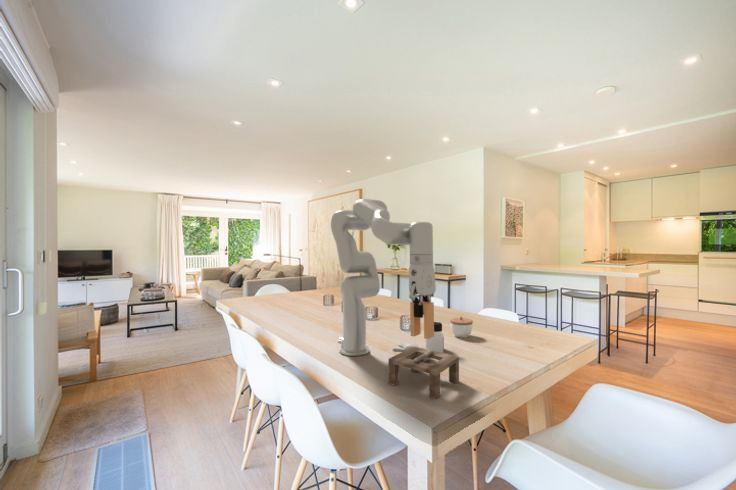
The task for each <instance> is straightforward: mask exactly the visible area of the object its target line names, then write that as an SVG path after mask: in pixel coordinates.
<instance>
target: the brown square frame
mask: <svg viewBox="0 0 736 490" xmlns="http://www.w3.org/2000/svg"><path fill="white" fill-rule="evenodd" d="M425 357H428V358H431V360H436V361H435V362H434V363H433V364H431V363H426V362H423V361H421V360H422V359H423V358H425ZM410 358H411V359H410ZM400 367H403V368H408V369H410V371H411V372H413V373H418V372H421V373H426V374H428V397H430V398H431V399H435V400H437V399H439V398H440V397H441V374H442V373H443V372H444V371H446V370H447V369H448V382H450V383H453V384H457V383H459V382H460V356H457V355H453V354H449V353H445V352H444V353H440V352H436V351H433V350H427V349H423V348H418V347H412V348H410V349H408V350H406V351H404V352H399V353H397V354H395V355H394V356H391V357H390V358H388V384H389V385H392V386H396V385H397V384H399V383H400Z"/></svg>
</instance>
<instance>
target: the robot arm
mask: <svg viewBox="0 0 736 490" xmlns="http://www.w3.org/2000/svg"><path fill="white" fill-rule="evenodd" d="M390 218H391V214H390V212H389V211H388V206H387V204H386V203H385V202H384V201H382V200H378V199H371V198H360V199H358V200H356V201H355V202H354V203H353V205H352V209H351V210H350V209H339V210H337V211H335V212H334V213H333V214H332V217H331V220H330V229H331V233H332V234H331V235H332V236H333V239H334V241H335V246H336V251H337V256H338V261H339V266H340V269H341V271H342V273H344V274H350V275H351V274H361V275H352V276H347V277H345V278H344V279H342V281H341V282H340V293H341V299H342V325H343V326H342V337H339V339H338V340H337V343H338V344H339V345H341V346H340V348H339V353H340V354H342V355H344V356H349V357H356V356H357V357H361V356H363V355H367V354H368V353H370V347H369V346H367V341H366V340H367V338H366V337H367V336H366V335H367V334H366V333H367V331H366V330H367V327H366V326H367V325H366V324H367V322H366V316H367V314H366V306H365V304H364V302H363V301H362V299H365V298H372V297H376V296H377V295H378V294H379V292H380V289H381V285H380V284H381V282H380V278H379V272H378V268H377V263H376V260H375V257H374V255H373V254H372V253H371V252H369V251H365V250H364V251H361V250H359V249H358V247H357V241H356V240H355V238H354V236H353V235H352V234H351V232H349V231H367V230H369V229H371V231H372V234H373V235H374V237H375V238H376V239H378V240H380V241H381V242H383V243H385V244H387V245H391V246H392V245H393V246H400V245H401V246H402V245H403V246H409V273H408V275H409V276H408V292H409V295H408V297H409V299H410V300H411V302H413V305H414V317H419V318H420V319H422V318H423V319H424V313H423V305H422V301H424V302H432V296H433V294H435V292H436V289H437V288H436V286H437V285H436V273H435V267H434V244H433V243H434V242H433V241H434V238H433V236H434V235H433V228H434V227H433V224H432V223H431V222H429V221H417V222H412V223H411V222H410V223H405V222H393V221H391V220H390Z"/></svg>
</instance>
